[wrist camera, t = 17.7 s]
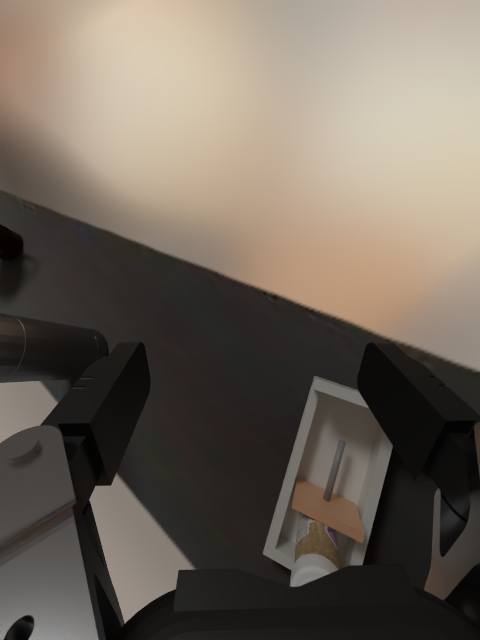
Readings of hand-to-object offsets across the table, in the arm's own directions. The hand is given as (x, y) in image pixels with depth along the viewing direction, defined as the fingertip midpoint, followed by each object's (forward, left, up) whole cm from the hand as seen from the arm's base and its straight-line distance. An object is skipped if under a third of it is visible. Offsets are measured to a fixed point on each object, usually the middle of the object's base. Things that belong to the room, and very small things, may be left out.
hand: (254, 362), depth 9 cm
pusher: (+1, -13, -29) cm, 32 cm away
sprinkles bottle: (-2, -19, -29) cm, 35 cm away
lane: (+1, -14, -30) cm, 33 cm away
